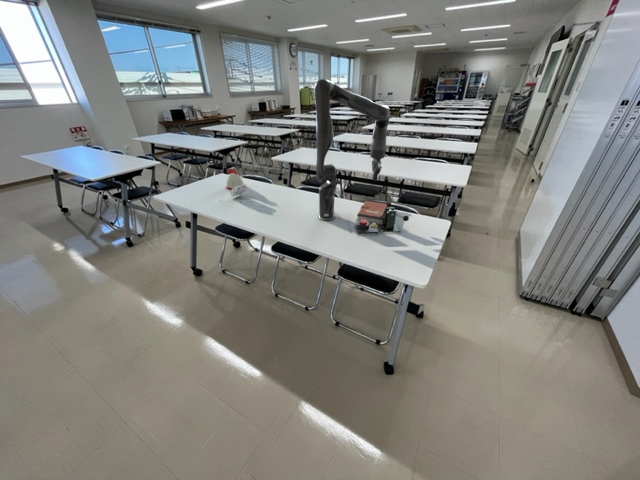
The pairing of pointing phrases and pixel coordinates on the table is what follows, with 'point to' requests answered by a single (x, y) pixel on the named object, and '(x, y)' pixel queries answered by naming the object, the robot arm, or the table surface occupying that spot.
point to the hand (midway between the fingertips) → (374, 180)
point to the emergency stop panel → (365, 228)
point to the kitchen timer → (233, 180)
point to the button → (363, 222)
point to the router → (238, 190)
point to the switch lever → (402, 216)
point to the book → (373, 211)
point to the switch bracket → (389, 221)
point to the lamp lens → (373, 225)
